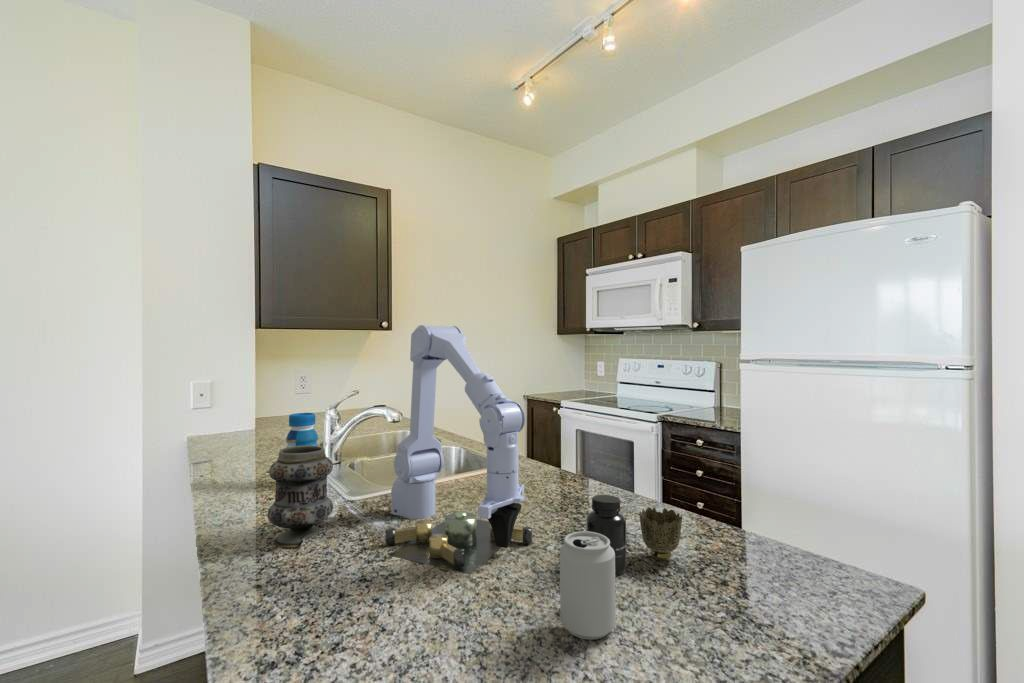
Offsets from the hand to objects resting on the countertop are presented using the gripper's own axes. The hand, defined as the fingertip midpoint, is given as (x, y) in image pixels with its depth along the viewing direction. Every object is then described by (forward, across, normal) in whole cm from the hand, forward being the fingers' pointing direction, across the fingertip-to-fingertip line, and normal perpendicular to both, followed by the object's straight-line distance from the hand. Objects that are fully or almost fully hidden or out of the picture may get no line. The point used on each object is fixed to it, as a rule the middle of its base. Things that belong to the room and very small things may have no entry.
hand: (502, 545), depth 85 cm
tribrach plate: (+3, +2, +10) cm, 11 cm away
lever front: (+1, -7, +7) cm, 10 cm away
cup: (+3, +13, -26) cm, 29 cm away
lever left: (+1, -3, +18) cm, 19 cm away
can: (+3, -13, -20) cm, 24 cm away
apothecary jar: (+3, -8, +42) cm, 42 cm away
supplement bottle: (+3, +5, -18) cm, 18 cm away
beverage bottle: (+3, +18, +72) cm, 74 cm away
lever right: (+1, +6, +1) cm, 6 cm away
